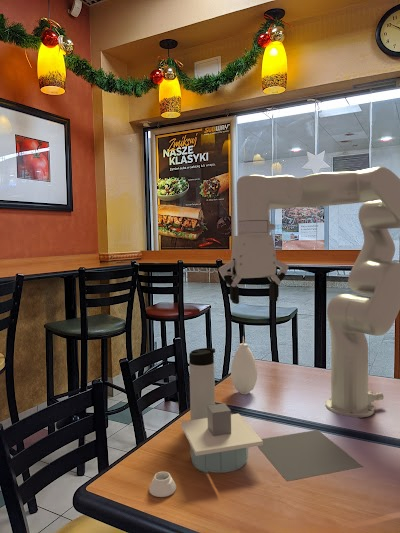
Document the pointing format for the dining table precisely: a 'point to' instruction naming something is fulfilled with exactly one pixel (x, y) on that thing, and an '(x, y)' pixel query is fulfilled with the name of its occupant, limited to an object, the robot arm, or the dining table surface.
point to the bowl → (220, 460)
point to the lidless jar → (162, 485)
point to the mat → (306, 455)
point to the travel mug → (201, 382)
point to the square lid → (219, 431)
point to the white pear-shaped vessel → (243, 369)
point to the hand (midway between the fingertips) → (254, 301)
